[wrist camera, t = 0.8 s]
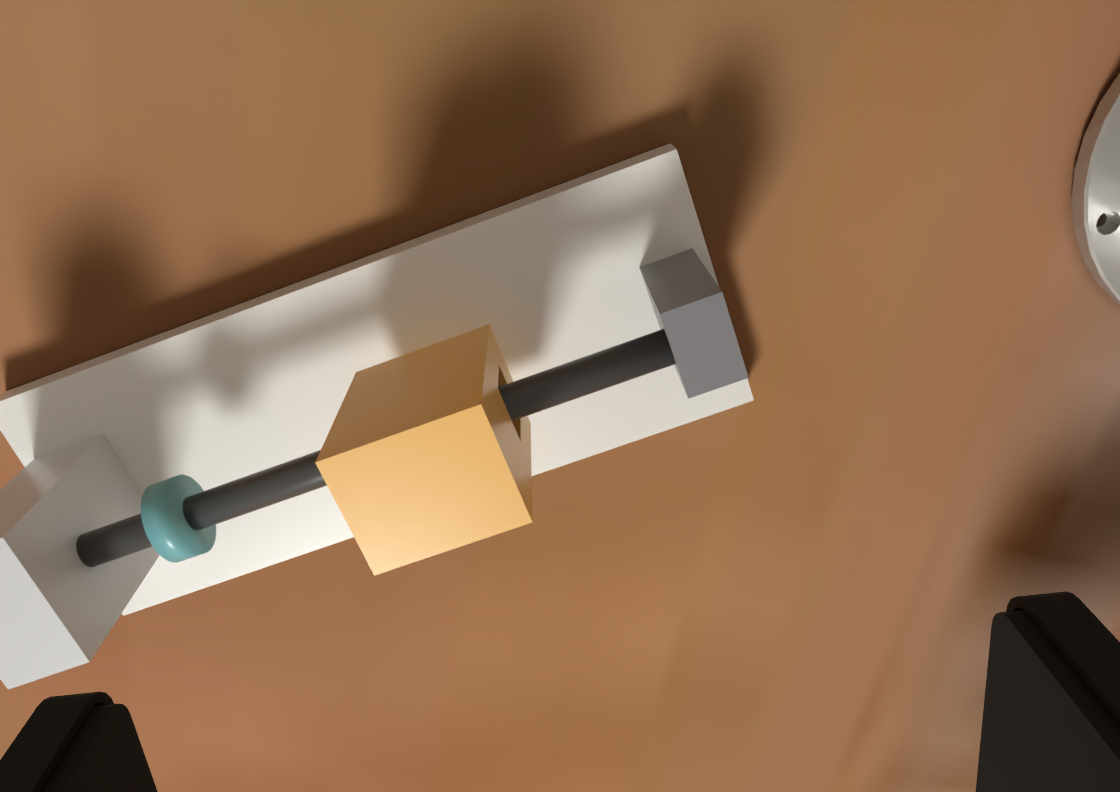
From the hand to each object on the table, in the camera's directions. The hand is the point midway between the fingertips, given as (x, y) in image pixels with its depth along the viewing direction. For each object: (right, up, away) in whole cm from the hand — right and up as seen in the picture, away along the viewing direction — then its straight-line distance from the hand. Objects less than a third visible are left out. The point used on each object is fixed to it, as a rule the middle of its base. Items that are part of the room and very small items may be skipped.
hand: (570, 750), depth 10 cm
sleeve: (-4, +4, +23) cm, 24 cm away
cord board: (-7, +4, +27) cm, 28 cm away
